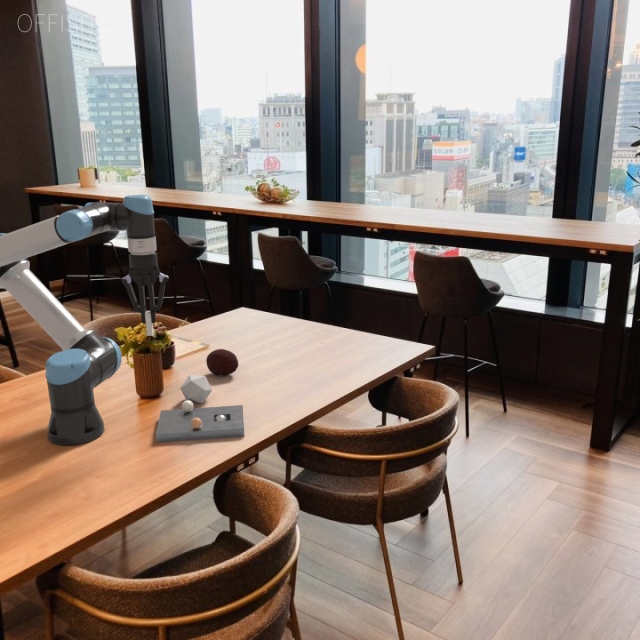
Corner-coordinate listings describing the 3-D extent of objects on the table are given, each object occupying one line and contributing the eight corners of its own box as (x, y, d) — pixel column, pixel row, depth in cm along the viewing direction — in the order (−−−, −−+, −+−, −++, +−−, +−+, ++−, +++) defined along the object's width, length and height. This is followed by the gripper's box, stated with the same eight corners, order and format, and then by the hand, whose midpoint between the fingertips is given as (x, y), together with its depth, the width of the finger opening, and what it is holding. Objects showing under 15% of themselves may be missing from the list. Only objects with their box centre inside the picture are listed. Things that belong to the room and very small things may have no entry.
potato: (215, 368, 244) (213, 343, 241) (244, 373, 239) (243, 347, 237) (201, 377, 236) (199, 351, 234) (231, 382, 232) (229, 355, 229)
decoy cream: (181, 414, 201) (180, 403, 200) (182, 409, 205) (181, 398, 204) (193, 413, 202) (192, 402, 201) (194, 408, 205) (193, 398, 204)
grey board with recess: (156, 442, 190) (155, 434, 189) (161, 418, 205) (160, 410, 204) (244, 436, 192) (244, 428, 192) (242, 412, 208) (242, 405, 207)
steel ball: (216, 416, 196) (228, 419, 197) (216, 411, 199) (228, 414, 200) (213, 427, 197) (225, 429, 198) (213, 422, 200) (225, 424, 201)
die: (217, 399, 220) (204, 370, 222) (213, 396, 211) (200, 366, 213) (192, 410, 219) (179, 382, 221) (187, 408, 210) (174, 378, 212)
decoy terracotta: (191, 430, 191) (190, 420, 190) (191, 426, 194) (190, 416, 193) (202, 430, 191) (201, 420, 190) (202, 425, 194) (201, 415, 193)
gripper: (116, 256, 185) (124, 339, 192) (165, 254, 187) (172, 337, 194) (120, 250, 193) (128, 331, 199) (168, 248, 194) (174, 329, 201)
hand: (150, 334), depth 197 cm, fingers closed
